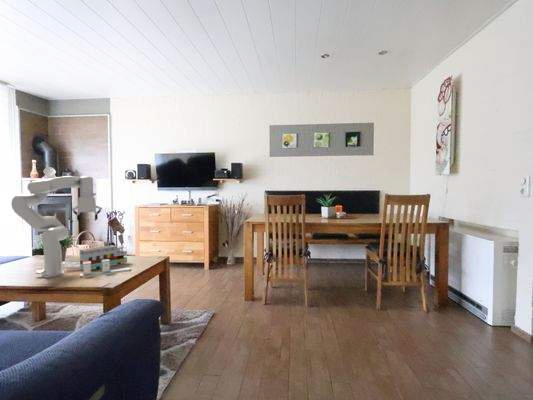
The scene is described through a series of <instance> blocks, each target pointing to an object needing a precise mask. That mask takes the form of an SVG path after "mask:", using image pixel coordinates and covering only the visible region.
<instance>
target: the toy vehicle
mask: <svg viewBox="0 0 533 400" xmlns="http://www.w3.org/2000/svg"><path fill="white" fill-rule="evenodd" d="M123 249H124V246H120V245H111V244H110V245H104V246H99V247H98V246H96V247H91V248H90V247H89V248H83V249H79V266H80V268H79V269H80V270H81V271H83V262H88V261H91V271H92V270H98V269H102V260H106V259H109V260H110V267H111V266H116V265H117V266H118V265H121V264H126V263H128V257H126V256H127V255H128V251H127V250H123Z"/></svg>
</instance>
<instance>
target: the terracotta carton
mask: <svg viewBox="0 0 533 400" xmlns="http://www.w3.org/2000/svg"><path fill="white" fill-rule="evenodd" d="M91 272H92V270H91V261H88V262H83V270H82V273H83V275H90V274H91Z"/></svg>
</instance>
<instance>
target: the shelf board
mask: <svg viewBox="0 0 533 400" xmlns="http://www.w3.org/2000/svg"><path fill="white" fill-rule="evenodd" d="M131 271H132V269H131V268H130V267H123V268H115V269H110V272H105V273H102V270H99V271H91V274H90V275H83V272H82V273H79V278H89V277H96V276H103V275H110V274H111V275H112V274H119V273H124V272H125V273H127V272H131Z"/></svg>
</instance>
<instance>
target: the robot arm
mask: <svg viewBox="0 0 533 400" xmlns="http://www.w3.org/2000/svg"><path fill="white" fill-rule="evenodd" d="M26 188H27V191H28V192H30V193H25V194H24V193H23V194H22V193H21V194H18V195H15V196H14V197H13V198H12V199H11V208H12V209H11V210H13V211H14V213H15V214H16V215H17V216H19V218H21V219H22V220H24V221H25V223H27V224H28V225H29V226H30V227H31V228H32V229H33V230H35V231H37V232H42V234H41V239H42V244H43V262H44V265H43V267H44V269H42V270H37V271H36V272H35V274H36V275H41V277H42V278H47V279H48V278H51V277H54V276H55V277H56V276H61V275H63V274H65V273H66V272H65V271H64V270H63V262H62V261H63V259H62V257H63V256H62V255H63V253H62V245H61V243H60V241H63V240H65V239H67V238H68V237H69V235H70V233H69V230H68V228H67V227H66V226H64V224H62V223H61V221H60V220H58V219H57V218H55V217H54V216H50V215H47V216H45V215H44V216H43V215H41V214H40V213H38V211H36V210H35V209H34V208H31V207H37V206H39V205H40V204H42V202H43V201H44V200H45V199H46V198H47V196H48V195H49V194H50V193H51V192H57V191H58V190H59V189H60V190H61V189H68V188H73V189H74V188H77V189H79V195H80V196H78V201H77V203H78V204H77V205H76V206H74V207H73V208H71V211H72V212H73V214H75V215H76V220H77V221H78V222H80V216H81V215H80V214H81V213H94V221H97V220H98V215H99V214H100V213H101V212H102V209H103V208H102V207H101V206H99V205H97V204H96V203H97V202H96V197H94V196H96V195H97V194H96V193H95V192H94V178H93V177H92V176H75V175H65V176H57V177H53V178H46V179H41V180H40V179H39V180H32V181H30V182H29V183H28V184H27V187H26ZM77 209H78V211H76V210H77ZM97 209H98V210H97ZM96 210H97V211H96Z"/></svg>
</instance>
